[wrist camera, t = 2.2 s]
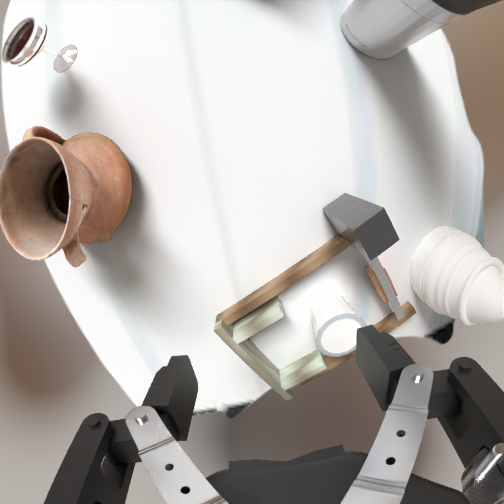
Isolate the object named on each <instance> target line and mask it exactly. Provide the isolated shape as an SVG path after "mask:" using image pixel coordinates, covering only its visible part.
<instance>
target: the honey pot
mask: <svg viewBox="0 0 504 504" xmlns="http://www.w3.org/2000/svg"><path fill="white" fill-rule="evenodd" d="M410 283H411V286H412V288H413V291H414V292H415V293H416V295H417V296H418V297H419V298H420V299H421V300H423V301H424V302H425V303H426V304H427V305H428V306H429V307H430V308H431V309H432V310H434V311H435V312H437V313H439V314H443V315H446V316H450V317H452V318H453V319H460V320H461V321H462V323H463V324H465V325H466V326H475V325H477V324H480V323H495V322H499V321H501V320H503V319H504V265H503V263H502V262H501V261H500V259H498V258H495V257H490V255H489V254H488V253H487V251H485V250H484V248H483V247H482V246H481V244H480V243H479V242H478V241H477V240H476V239H475V238H474V237H472V236H470V235H468V234H466V233H464V232H461V231H459V230H457V229H455V228H452V227H449V226H441V227H439V228H436V229H434V230H433V231H431V232H430V233H429V234H427V235H426V236H425V238H424V239H423V240H422V241H421V242H420V244H419V246H418V248H417V249H416V251H415V253H414V256H413V259H412V262H411V268H410Z"/></svg>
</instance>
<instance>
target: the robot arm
mask: <svg viewBox="0 0 504 504" xmlns="http://www.w3.org/2000/svg"><path fill="white" fill-rule="evenodd" d="M499 1H502V0H353V2H352V3H351V4H350V6H349V7H348V9H347V10H346V12H345V13H344V14H343V16H342V19H341V28H342V31H343V33H344V35H345V37H346V38H347V40H348V41H349V42H350V43H351V44H352V45H353V46H354V47H355V48H356V49H357V50H359V51H360V52H362V53H364V54H365V55H368V56H370V57H373V58H377V59H387V58H390V57H392V56H394V55H396V54H397V53H399V52H401V51H402V50H404V49H406V48H407V47H409V46H410V45H412V44H414V43H415V42H417V41H419V40H420V39H422V38H424V37H426V36H427V35H429V34H431V33H433V32H434V31H436V30H438V29H440V28H442V27H443V26H445V25H447V24H449V23H451V22H452V21H454V20H456V19H458V18H460V17H462V16H464V15H466V14H469V13H471V12H473V11H475V10H477V9H480V8H483V7H485V6H488V5H491V4H494V3H496V2H499ZM356 359H357V364H358V366H359V368H360V370H361V372H362V374H363V375H364V377H365V379H366V381H367V383H368V385H369V386H370V388H371V390H372V392H373V394H374V396H375V398H376V399H377V401H378V403H379V405H380V407H381V409H382V411H386V410H387V413H386V416H385V418H384V421H383V423H382V425H381V428H380V430H379V433H378V435H377V437H376V440H375V442H374V444H373V446H372V448H371V451H370V453H369V454H367V453H362V452H355V451H344V448H343V446H342V445H339V446H335V447H331V448H326V449H321V450H317V451H314V452H311V453H309V454H306V455H303V456H301V457H298V458H296V459H293V460H290V461H269V460H258V459H255V460H242V461H229V468H228V469H224V470H221V471H218V472H216V473H214V474H212V475H210V476H208V477H207V478H205V477H204V476H203V475H202V474H201V473H200V472H199V470H198V469H197V468H196V467H195V465H194V464H193V463H192V461H191V460H190V459H189V457H188V456H187V455H186V453H185V452H184V451H183V450H182V448H181V447H180V445H179V444H178V443H177V442H178V441H186V440H187V437H188V432H189V428H190V423H191V419H192V414H193V410H194V406H195V401H196V397H197V393H198V382H197V379H196V376H195V373H194V370H193V368H192V365H191V362H190V359H189V357H188V356H187V355H181V356H172V357H171V359H170V361H169V363H168V366H164V367H162V368H161V369H160V370H159V371H158V372H157V373H156V375H155V377H154V379H153V381H152V383H151V387H150V388H149V390H148V392H147V395H146V397H145V399H144V401H143V404H142V406H139V407H136V408H134V409H133V410H131V411H130V412H129V413H128V414H127V416H126V419H120V420H114V421H110V420H109V419H108V417H107V416H106V415H105V414H102V413H95V414H91V415H89V416H88V417H87V418H85V419H84V420H83V422H82V424H81V426H80V428H79V430H78V432H77V434H76V435H75V438H74V440H73V441H72V443H71V445H70V447H69V449H68V451H67V454H66V455H65V458H64V460H63V462H62V464H61V466H60V468H59V470H58V472H57V475H56V477H55V479H54V481H53V483H52V486H51V488H50V490H49V492H48V495H47V498H46V500H45V502H44V504H125V500H126V497H127V493H128V489H129V485H130V481H131V477H132V473H133V470H134V467H135V463H136V462H143V464H144V465H145V468H146V469H147V471H148V473H149V475H150V477H151V478H152V480H153V482H154V483H155V485H156V487H157V489H158V490H159V492H160V493H161V495H162V497H163V498H164V500H165V501H166V503H167V504H503V503H504V392H503V391H502V390H501V388H500V387H499V386H498V385H497V384H496V383H495V382H494V381H493V379H492V378H491V377H490V376H489V375H488V374H487V373H486V372H485V371H484V370H483V369H482V367H481V366H480V365H479V364H478V363H477V362H476V361H475V360H473V359H471V358H468V357H460V358H457V359H455V360H453V361H452V363H451V365H450V369H447V370H441V371H432V369H431V368H430V367H428V366H426V365H424V364H416V363H415V362H414V361H413V360H412V359H411V357H410V356H409V355H408V354H407V353H406V351H405V350H404V349H403V348H402V347H401V346H400V344H399V343H398V342H397V341H396V340H395V338H394V337H393V336H391V335H389V334H387V333H385V332H382V333H379V332H378V330H377V329H376V328H375V327H374V325H369V326H365V327H361V328H358V329H357V336H356ZM431 418H438V420H439V421H440V423H441V425H442V427H443V428H444V430H445V432H446V434H447V436H448V437H449V439H450V441H451V443H452V445H453V446H454V448H455V450H456V452H457V454H458V456H459V458H460V459H461V461H462V463H463V465H464V467H465V471H464V472H463V474H462V478H461V483H462V488H463V492H460V491H458V490H456V489H452V488H450V487H447V486H444V485H441V484H438V483H435V482H433V481H430V480H427V479H425V478H422V477H420V476H417V475H415V474H412V473H411V471H412V468H413V465H414V462H415V459H416V456H417V453H418V450H419V446H420V443H421V439H422V436H423V432H424V428H425V424H426V420H427V419H431ZM104 457H105V458H104ZM103 458H104V461H103ZM102 461H103V463H102ZM101 463H102V466H101Z"/></svg>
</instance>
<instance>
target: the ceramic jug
mask: <svg viewBox="0 0 504 504" xmlns="http://www.w3.org/2000/svg"><path fill="white" fill-rule="evenodd" d="M131 194H132V177H131V171H130V167H129V164H128V161H127V159H126V157H125V155H124V154H123V152H122V151H121V149H120V148H119V147H118V146H117V145H116V144H115V143H114V142H113V141H112V140H111V139H109V138H108V137H106V136H103V135H101V134H97V133H83V134H79V135H76V136H74V137H72V138H70V139H68V140H64V139H62V138H61V137H60V136H58V134H56V133H54V132H52V131H51V130H49V129H47V128H44V127H41V126H35V127H32V128H30V129H28V130H27V131H26V132H25V134H24V136H23V141H22V142H21V143H20V144H18V145H16V146H15V147H14V148H13V149H12V150H11V152H10V153H9V154H8V156H7V158H6V160H5V162H4V164H3V167H2V169H1V172H0V224H1V227H2V229H3V232H4V234H5V236H6V238H7V240H8V242H9V243H10V244H11V245H12V247H13V248H14V249H15V250H16V251H17V252H18V253H19V254H21V255H22V256H23V257H25V258H27V259H29V260H34V261H38V260H43V259H46V258H48V257H50V256H52V255H53V254H55V253H56V252H58V251H59V250H60V249H61V248H62V249H63V250H64V254H65V257H66V259H67V261H68V262H69V263H70V264H71V265H72V266H73V267H78V266H80V265H81V264H82V263H83V262H84V261H85V260H86V256H85V255H84V253H83V252H82V250H81V248H80V244H79V243H92V242H96V241H99V242H106V241H109V240H110V239H111V237H112V235H113V233H114V231H115V230H116V228H117V227H118V226H119V225H120V223H121V222H122V220H123V218H124V217H125V215H126V212H127V210H128V207H129V204H130V199H131Z"/></svg>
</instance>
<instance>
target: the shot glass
mask: <svg viewBox="0 0 504 504" xmlns="http://www.w3.org/2000/svg"><path fill="white" fill-rule="evenodd" d="M310 313H311V319H312V325H313V330H314V336H315V341H316V347H317V348H318V349H319V351H320V352H321V353H322V354H325V355H327V356H331V357H339V356H343V355H347V354H349V353H350V352H352V351H354V350H355V349H356V336H357V329H358V328H361V327H365V326H366V324H365V322H364V320H363V319H362V317H361V316H360V315H359V314H358V313H357V312H356V311H355V310H354V308H353V307H352V306H351V305H350V304H349V303H348V302H347V301H346V299H345V298H344V297H343V296H341V295H339V294H338V293H331V292H330V293H326V294H323V295H321V296H320V297H318V298H317V299H316V300H315V301H314V302H313V304H312V306H311V309H310Z"/></svg>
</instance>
